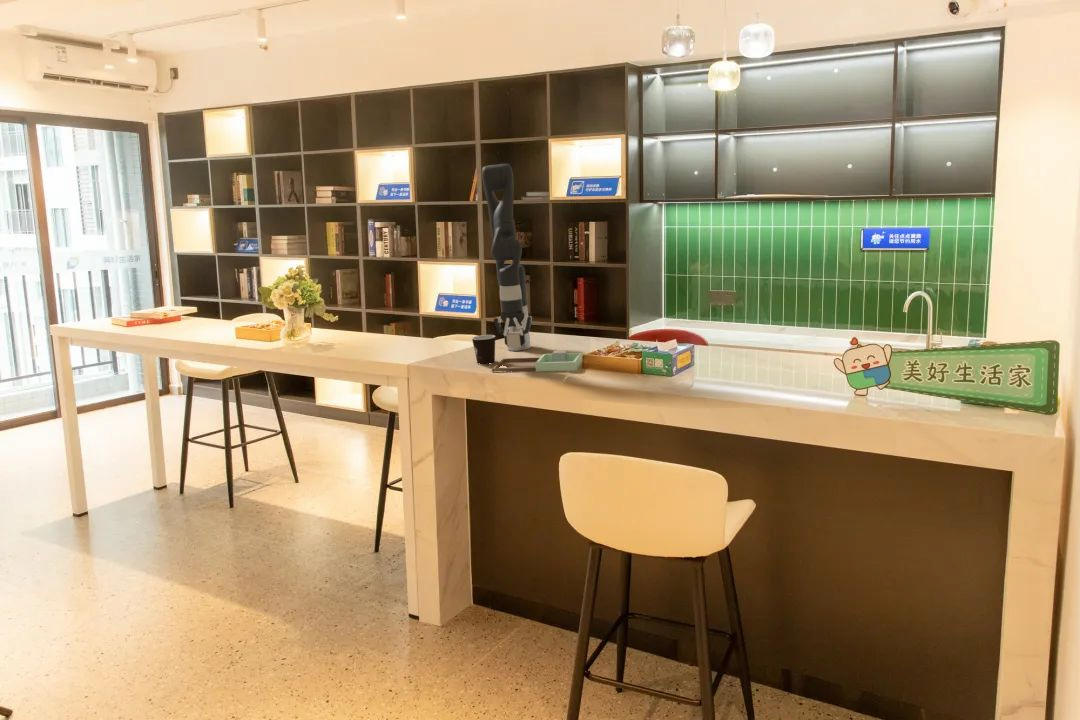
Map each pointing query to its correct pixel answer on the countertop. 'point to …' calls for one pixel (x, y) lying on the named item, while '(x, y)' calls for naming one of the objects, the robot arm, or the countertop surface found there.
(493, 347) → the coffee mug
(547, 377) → the countertop surface
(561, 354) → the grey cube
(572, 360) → the green dish
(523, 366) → the walnut tray
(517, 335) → the light grey cube
